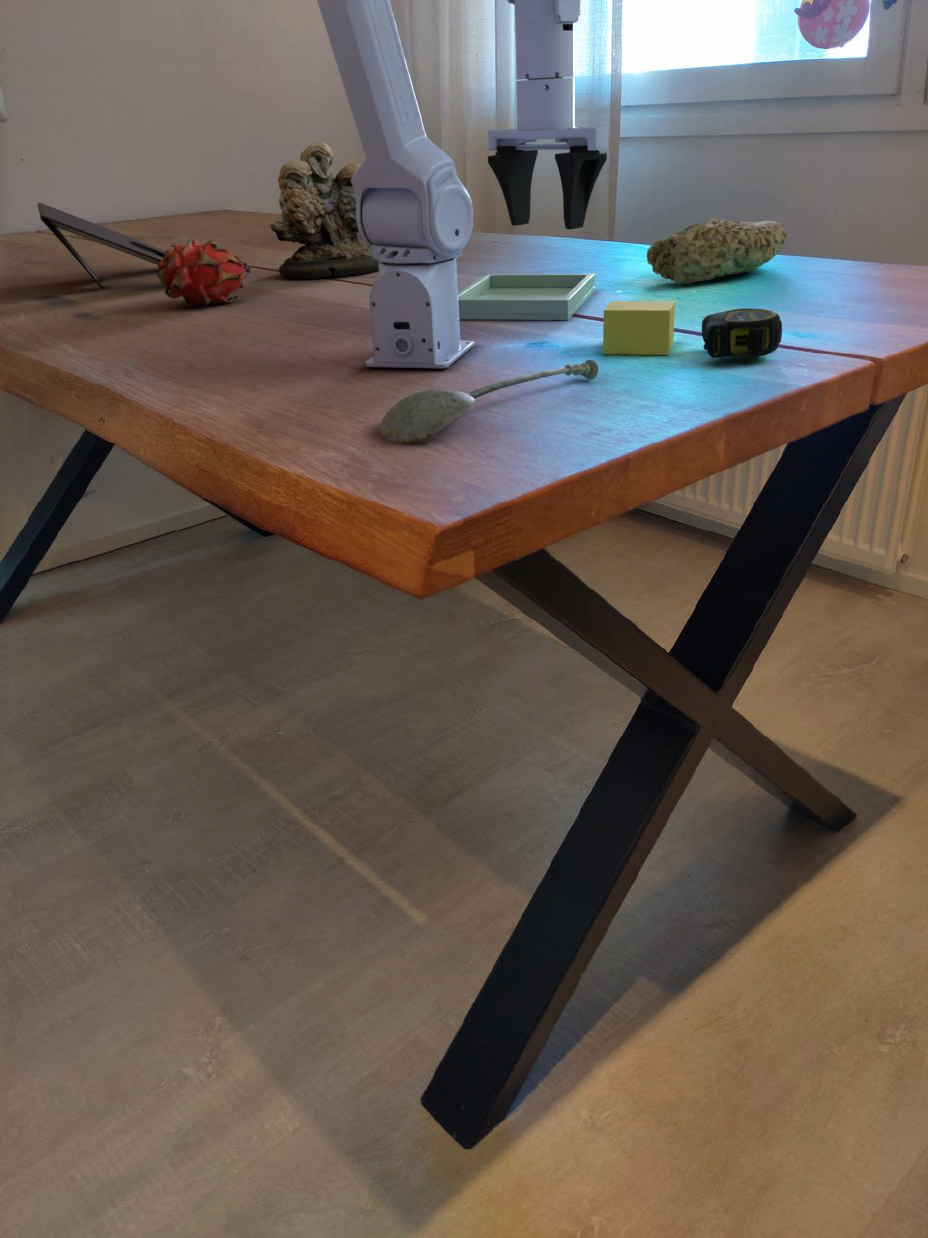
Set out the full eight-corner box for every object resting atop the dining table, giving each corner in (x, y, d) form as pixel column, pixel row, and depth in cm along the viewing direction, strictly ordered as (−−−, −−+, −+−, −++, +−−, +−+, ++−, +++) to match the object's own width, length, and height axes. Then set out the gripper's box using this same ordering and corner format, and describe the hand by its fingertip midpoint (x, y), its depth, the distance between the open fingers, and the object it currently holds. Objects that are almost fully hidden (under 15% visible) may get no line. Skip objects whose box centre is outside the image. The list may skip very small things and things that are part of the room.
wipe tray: (568, 320, 108) (568, 299, 107) (447, 319, 112) (446, 299, 111) (594, 291, 122) (594, 273, 121) (486, 291, 126) (485, 273, 125)
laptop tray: (198, 328, 143) (218, 265, 141) (27, 268, 132) (44, 198, 130) (177, 303, 162) (194, 247, 160) (26, 249, 151) (41, 187, 149)
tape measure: (699, 348, 94) (701, 307, 92) (775, 347, 93) (779, 305, 91) (701, 366, 88) (704, 322, 86) (783, 365, 87) (787, 321, 85)
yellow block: (668, 355, 92) (670, 310, 90) (602, 354, 94) (603, 310, 92) (673, 344, 96) (675, 300, 94) (610, 343, 97) (611, 300, 96)
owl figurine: (296, 284, 137) (279, 146, 130) (260, 275, 146) (242, 146, 138) (408, 267, 146) (398, 137, 138) (367, 259, 155) (356, 136, 147)
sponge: (694, 301, 119) (827, 247, 124) (678, 234, 117) (816, 181, 121) (637, 305, 131) (761, 255, 136) (622, 244, 128) (749, 196, 133)
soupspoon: (363, 440, 76) (417, 463, 72) (358, 397, 74) (414, 417, 70) (565, 370, 88) (622, 386, 84) (565, 332, 86) (624, 346, 82)
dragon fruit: (156, 322, 126) (249, 323, 132) (168, 288, 119) (266, 290, 124) (145, 260, 128) (238, 264, 133) (156, 222, 120) (254, 227, 126)
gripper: (629, 74, 97) (625, 224, 103) (519, 80, 106) (522, 218, 112) (581, 76, 92) (580, 233, 99) (471, 83, 102) (477, 226, 108)
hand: (546, 226), depth 105 cm, fingers open, 7 cm apart
